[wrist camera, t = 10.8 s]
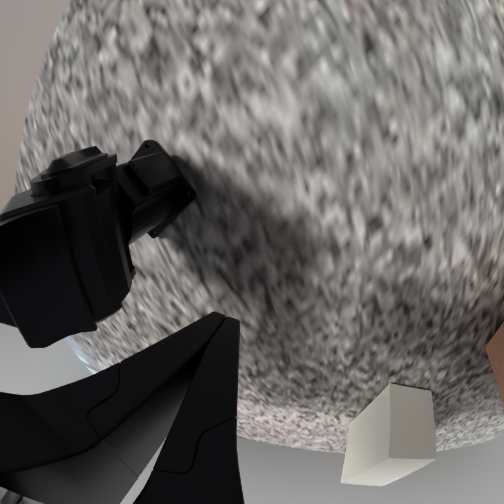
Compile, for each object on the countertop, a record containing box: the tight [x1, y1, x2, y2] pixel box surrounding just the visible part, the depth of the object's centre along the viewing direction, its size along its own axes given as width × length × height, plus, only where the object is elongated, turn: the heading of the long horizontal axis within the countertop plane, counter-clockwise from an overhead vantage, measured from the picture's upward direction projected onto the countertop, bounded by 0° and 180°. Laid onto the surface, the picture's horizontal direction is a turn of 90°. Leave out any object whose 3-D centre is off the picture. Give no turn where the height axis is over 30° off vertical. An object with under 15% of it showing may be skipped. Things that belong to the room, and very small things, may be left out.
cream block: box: [341, 383, 436, 486], centre depth 22 cm, size 6×10×9 cm, turn 170°
